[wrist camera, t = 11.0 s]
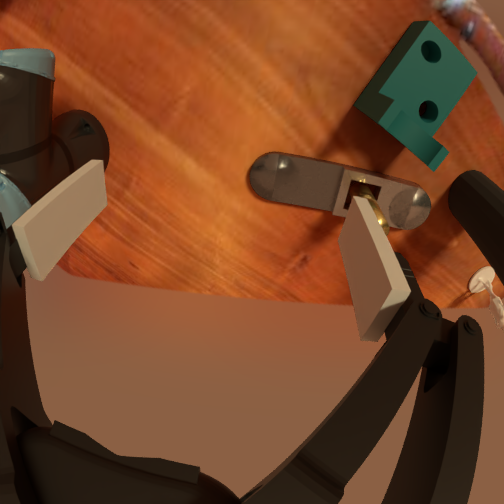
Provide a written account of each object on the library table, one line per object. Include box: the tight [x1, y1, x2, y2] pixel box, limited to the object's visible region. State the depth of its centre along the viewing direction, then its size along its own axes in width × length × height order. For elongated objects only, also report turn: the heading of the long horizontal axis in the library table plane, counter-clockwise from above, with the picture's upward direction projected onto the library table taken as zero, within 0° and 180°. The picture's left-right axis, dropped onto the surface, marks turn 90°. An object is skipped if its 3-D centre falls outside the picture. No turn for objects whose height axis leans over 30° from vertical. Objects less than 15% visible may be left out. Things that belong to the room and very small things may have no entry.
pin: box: [349, 182, 389, 236], centre depth 41 cm, size 4×4×12 cm
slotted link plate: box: [250, 152, 431, 230], centre depth 44 cm, size 31×8×2 cm, turn 84°
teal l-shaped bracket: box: [353, 21, 477, 172], centre depth 29 cm, size 18×11×10 cm, turn 151°
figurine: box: [469, 266, 504, 332], centre depth 45 cm, size 8×8×18 cm
